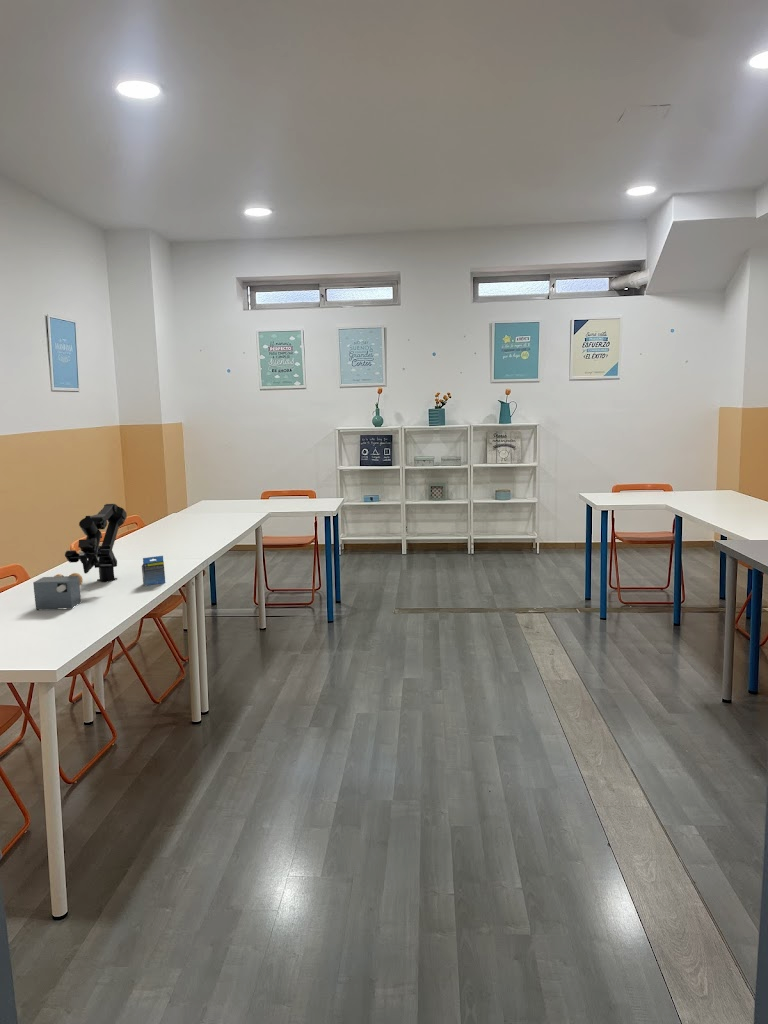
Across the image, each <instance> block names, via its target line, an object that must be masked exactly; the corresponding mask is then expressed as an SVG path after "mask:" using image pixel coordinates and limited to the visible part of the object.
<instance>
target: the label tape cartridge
mask: <svg viewBox="0 0 768 1024" xmlns="http://www.w3.org/2000/svg"><path fill="white" fill-rule="evenodd" d="M165 572H166V571H165V563H164V555H159V556H158V555H157V556H150V557H149V556H148V557H142V565H141V574H142V575H141V577H142V584H143V586H145V585H147V586H151V584H153V585H158V584H165V583H166V573H165Z"/></svg>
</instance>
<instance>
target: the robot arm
mask: <svg viewBox="0 0 768 1024" xmlns="http://www.w3.org/2000/svg"><path fill="white" fill-rule="evenodd" d="M126 519H127V512H126V510H125V509H124V508H123V507H122V506H121V507H120V506H119V505H117V504H116V503H105V504H104V505H103V508H101V510H99V511H98V513H97V514H93V515H85V517H84V518H82V519H81V520H80V521H79V523H78V525H79V527H80V529H81V530H82V532H83V534H84V535H85V536H86V538H84V539H78V545H77V546H78V548H80V551H81V552H80V551H79V553H78V552H77V550H74V549H72V550H71V549H70V550H66V551H65V553H64V556H65V557H64V558H65V559H66V560H67V562H69V563H78V562H79V561H80V563H81V564H82V567H83V568H82V569H83V573H84V574H88V573H89V571H91V569H92V568H93V567H94V568H95V569H98V573H99V574H98V575H99V577H98V578H97V579H96V581H97V582H102V583H103V582H104V583H106V582H107V581H108V582H111V580H112V581H114V580H115V579H116V580H118V577H115V570H114V568H117V566H118V560H117V558H116V557H115V554H114V551H113V548H114V545H115V541H116V537H117V534H118V532H119V529H120V527H121V526H123V525H124V524H125V522H126ZM105 529H106V530H105ZM101 530H105V534H104V536H103V535H102V532H101ZM101 539H103V540H102V543H101V545H100V542H101Z"/></svg>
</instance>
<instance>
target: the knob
mask: <svg viewBox="0 0 768 1024" xmlns="http://www.w3.org/2000/svg"><path fill="white" fill-rule="evenodd" d="M68 576H79V585H80V586H81V585H82V584H83V582H84V581H83V580H84V579H83V576H82V575H81V574H80V573H77V572H73V573H71V574H69V575H68ZM66 589H67V583H64V584H62V585H60V586H59V587H57V592H59V593H61V592H63V591H64V590H66Z"/></svg>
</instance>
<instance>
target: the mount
mask: <svg viewBox="0 0 768 1024" xmlns="http://www.w3.org/2000/svg"><path fill="white" fill-rule="evenodd" d="M64 583H67V589H66V590H64V591H63V592H61V593H59V592H57V587H59V586H60V585H62V584H64ZM80 586H81V585H79V576H69V575H66V576H65V575H63V574H56V575H54V576H42V577H41V578H39V579H36V580H35V581H33V593H34V603H35V604H34V605H35V610H36V609H55V610H59V609H58V608H73V607H74V606H76V605H77V604H79V603H80V602H81V603H82V599H81V598H82V597H81V588H80ZM81 603H80V604H81ZM80 604H79V605H80ZM77 606H78V605H77ZM77 606H76V607H77ZM74 608H75V607H74ZM74 608H73V609H74Z"/></svg>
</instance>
